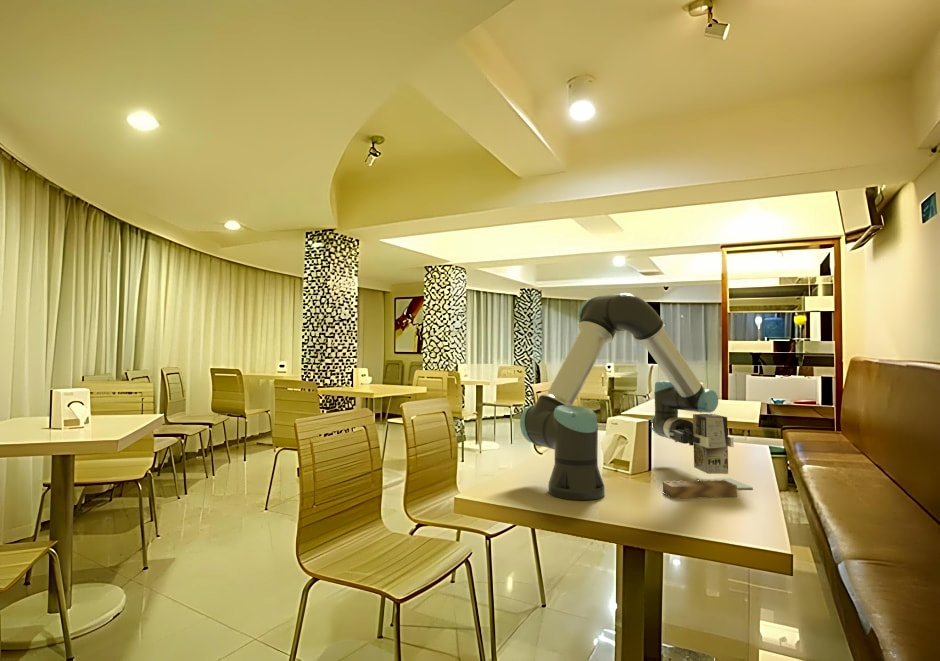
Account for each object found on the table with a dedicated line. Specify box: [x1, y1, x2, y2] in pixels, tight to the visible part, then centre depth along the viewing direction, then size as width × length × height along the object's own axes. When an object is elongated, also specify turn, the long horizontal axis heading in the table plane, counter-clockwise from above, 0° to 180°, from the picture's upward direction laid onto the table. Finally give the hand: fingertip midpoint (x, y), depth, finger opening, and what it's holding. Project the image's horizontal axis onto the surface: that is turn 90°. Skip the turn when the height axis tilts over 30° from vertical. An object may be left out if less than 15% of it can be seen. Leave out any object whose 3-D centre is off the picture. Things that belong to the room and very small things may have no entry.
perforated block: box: [662, 479, 738, 499], centre depth 141 cm, size 18×6×3 cm, turn 95°
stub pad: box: [696, 477, 753, 490], centre depth 152 cm, size 10×11×1 cm
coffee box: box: [692, 413, 729, 475], centre depth 152 cm, size 9×6×16 cm
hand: (719, 442), depth 147 cm, fingers closed on coffee box, 7 cm apart
